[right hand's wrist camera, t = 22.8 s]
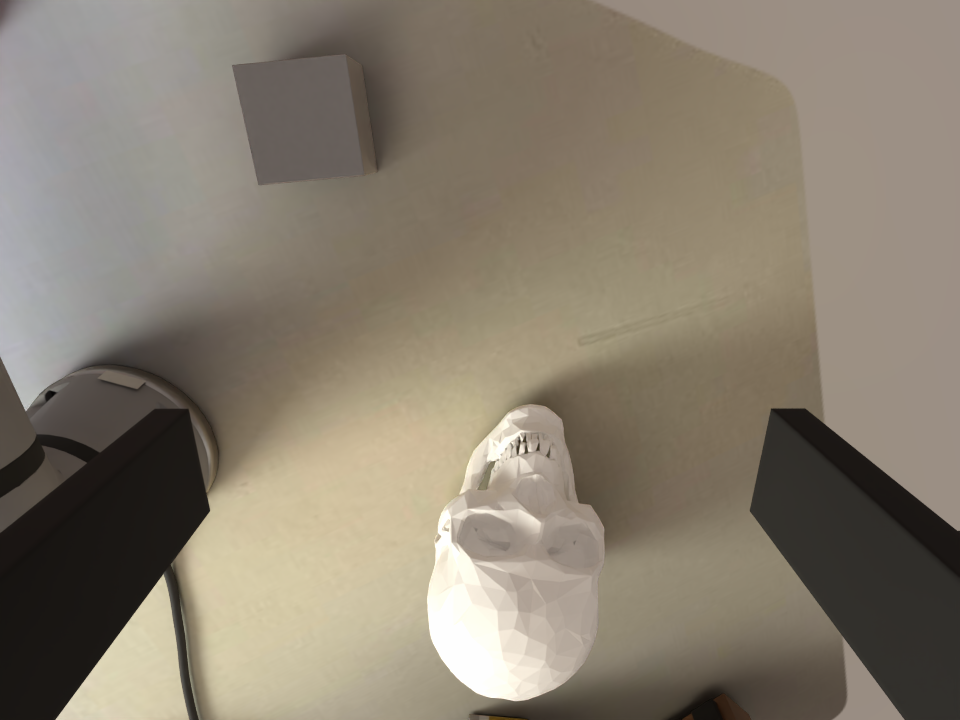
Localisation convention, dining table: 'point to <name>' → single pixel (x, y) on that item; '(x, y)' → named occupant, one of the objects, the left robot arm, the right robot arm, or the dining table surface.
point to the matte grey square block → (306, 118)
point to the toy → (490, 718)
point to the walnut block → (727, 709)
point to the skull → (517, 565)
